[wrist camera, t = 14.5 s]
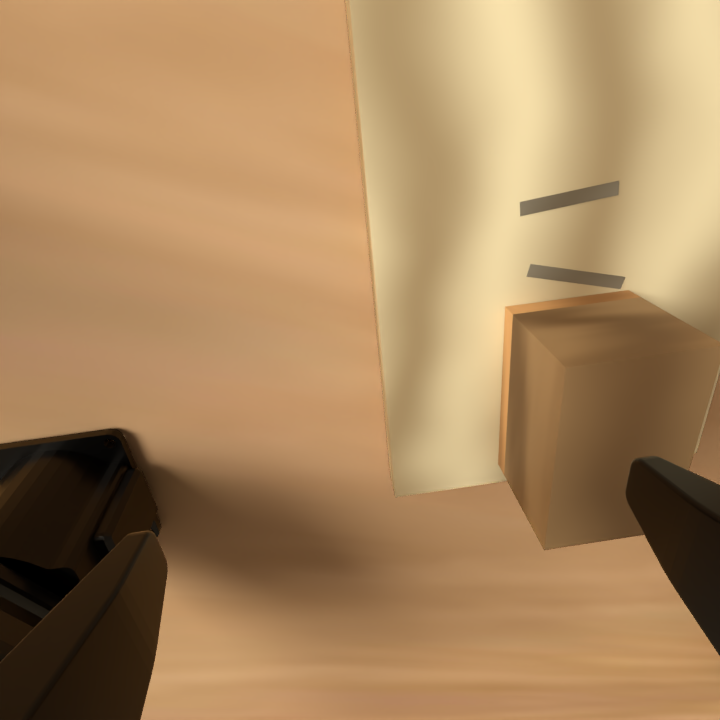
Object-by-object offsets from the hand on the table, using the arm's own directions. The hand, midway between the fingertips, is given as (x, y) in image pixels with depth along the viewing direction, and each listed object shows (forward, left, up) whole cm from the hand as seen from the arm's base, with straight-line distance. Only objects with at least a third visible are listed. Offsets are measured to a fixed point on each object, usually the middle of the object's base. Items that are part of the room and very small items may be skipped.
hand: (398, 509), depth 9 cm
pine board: (+8, +1, -12) cm, 15 cm away
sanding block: (+8, -5, -10) cm, 14 cm away
